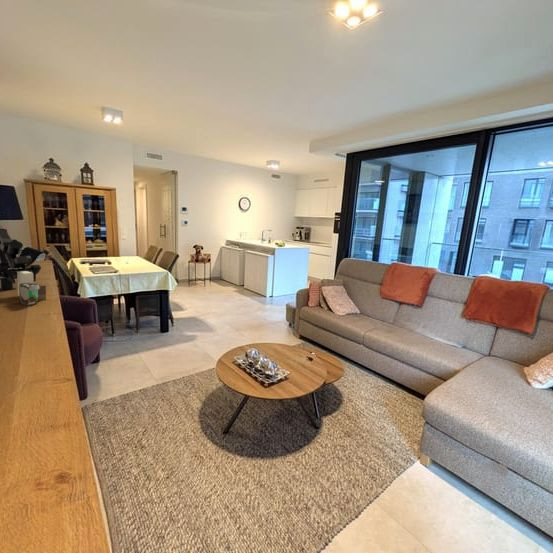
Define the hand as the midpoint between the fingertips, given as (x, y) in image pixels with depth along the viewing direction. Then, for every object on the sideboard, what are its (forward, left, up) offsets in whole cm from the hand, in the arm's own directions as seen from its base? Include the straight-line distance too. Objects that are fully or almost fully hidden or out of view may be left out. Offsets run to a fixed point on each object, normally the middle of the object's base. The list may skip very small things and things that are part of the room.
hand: (25, 282), depth 164 cm
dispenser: (+10, -1, -8) cm, 13 cm away
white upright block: (0, 0, -8) cm, 8 cm away
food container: (+17, -4, -8) cm, 19 cm away
